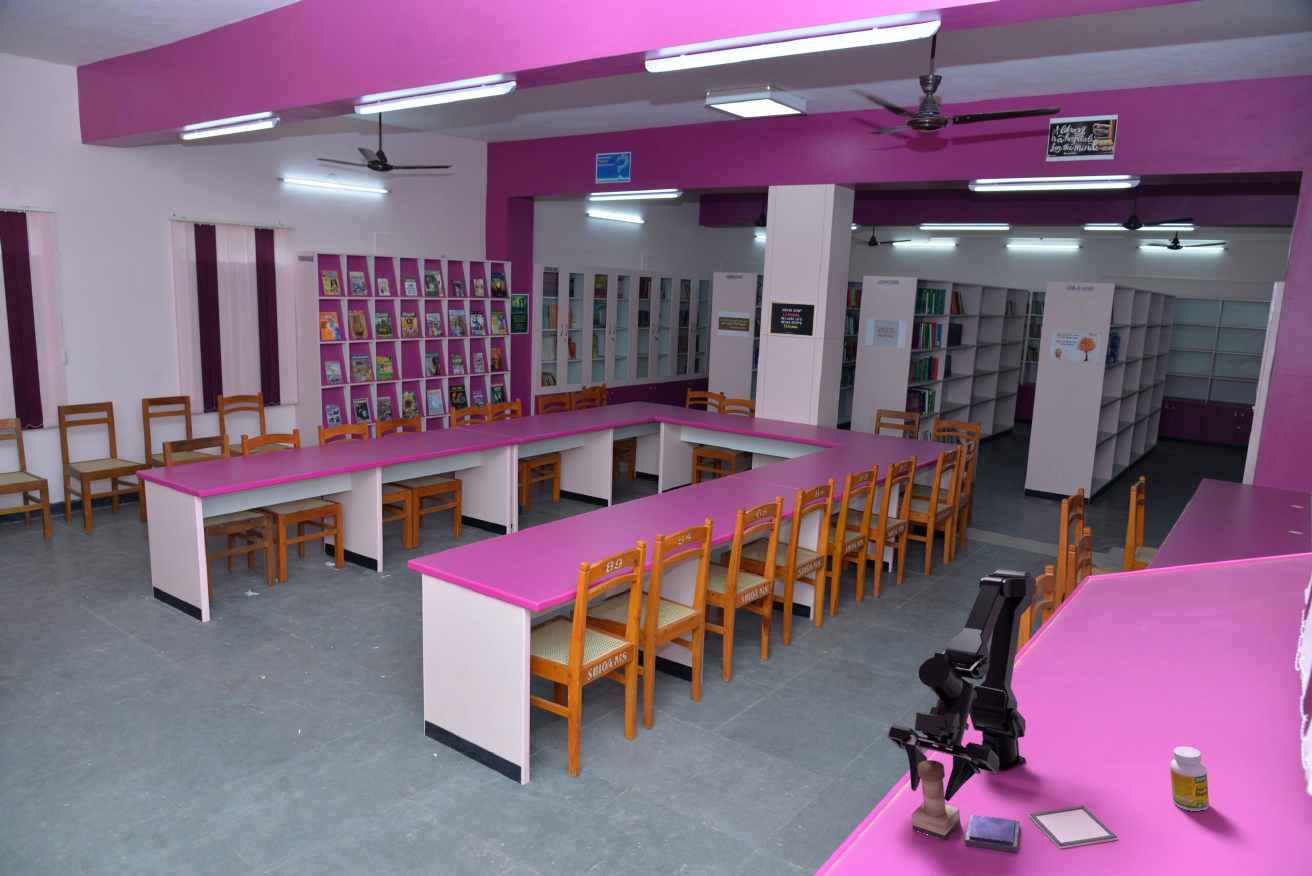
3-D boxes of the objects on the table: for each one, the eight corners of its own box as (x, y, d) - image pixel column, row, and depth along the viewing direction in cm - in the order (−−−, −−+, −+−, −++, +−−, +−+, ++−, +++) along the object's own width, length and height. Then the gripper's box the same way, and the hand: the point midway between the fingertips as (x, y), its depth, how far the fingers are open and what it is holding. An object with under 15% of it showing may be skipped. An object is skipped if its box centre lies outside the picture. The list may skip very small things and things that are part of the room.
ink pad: (970, 820, 148) (970, 812, 148) (1019, 826, 144) (1019, 818, 144) (965, 845, 141) (964, 837, 141) (1017, 852, 137) (1016, 844, 137)
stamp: (928, 814, 151) (922, 755, 150) (960, 824, 147) (954, 763, 146) (912, 830, 147) (906, 769, 146) (945, 841, 143) (939, 778, 142)
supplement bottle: (1181, 793, 148) (1178, 741, 147) (1215, 804, 144) (1211, 751, 143) (1166, 804, 145) (1162, 752, 145) (1200, 816, 141) (1196, 762, 140)
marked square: (1028, 816, 147) (1028, 813, 147) (1083, 808, 147) (1083, 805, 147) (1059, 848, 137) (1059, 845, 137) (1118, 839, 137) (1118, 836, 137)
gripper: (887, 682, 154) (862, 764, 148) (986, 702, 141) (964, 793, 134) (911, 707, 161) (888, 787, 154) (1009, 728, 147) (988, 817, 141)
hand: (929, 795), depth 145 cm, fingers open, 6 cm apart
